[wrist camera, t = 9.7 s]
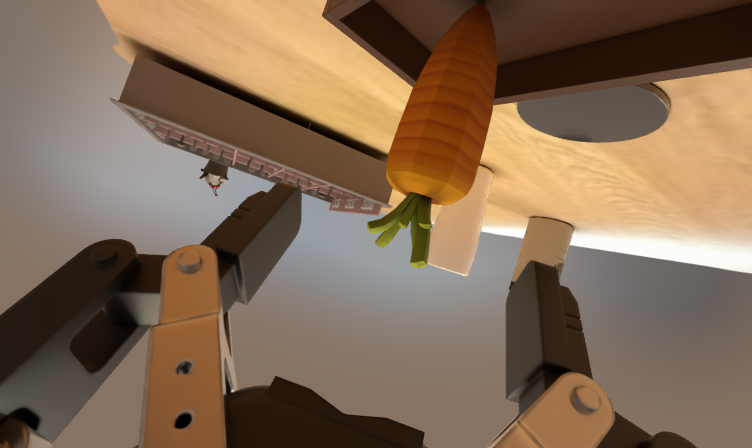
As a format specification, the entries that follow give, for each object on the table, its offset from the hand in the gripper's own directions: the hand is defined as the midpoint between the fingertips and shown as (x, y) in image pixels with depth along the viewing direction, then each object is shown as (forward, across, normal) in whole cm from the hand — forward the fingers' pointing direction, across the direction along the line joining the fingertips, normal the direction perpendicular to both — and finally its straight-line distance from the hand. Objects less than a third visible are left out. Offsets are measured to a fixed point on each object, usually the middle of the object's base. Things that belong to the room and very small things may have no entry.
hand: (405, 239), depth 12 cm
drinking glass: (+37, -6, +16) cm, 41 cm away
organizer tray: (+45, +30, +24) cm, 59 cm away
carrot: (+15, 0, -6) cm, 16 cm away
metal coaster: (+21, -10, 0) cm, 23 cm away
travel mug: (+51, -25, +31) cm, 65 cm away
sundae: (+60, +52, +39) cm, 89 cm away
